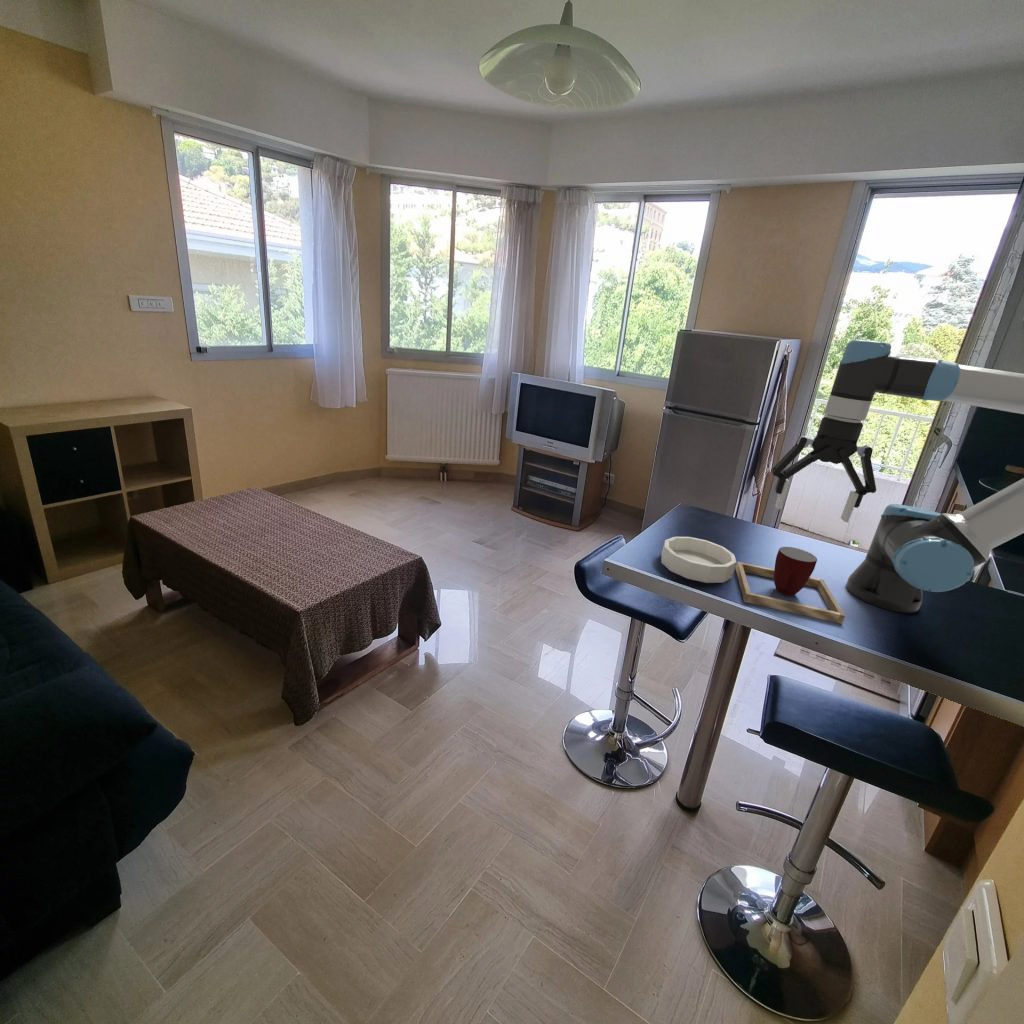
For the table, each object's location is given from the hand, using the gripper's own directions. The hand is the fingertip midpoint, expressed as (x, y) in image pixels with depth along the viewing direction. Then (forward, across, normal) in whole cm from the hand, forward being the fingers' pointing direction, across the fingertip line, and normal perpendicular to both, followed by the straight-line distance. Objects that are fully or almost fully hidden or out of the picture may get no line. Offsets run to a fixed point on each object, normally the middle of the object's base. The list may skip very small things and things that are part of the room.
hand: (810, 513), depth 115 cm
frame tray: (+20, 0, 0) cm, 20 cm away
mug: (+20, 0, 0) cm, 20 cm away
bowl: (+20, +20, -5) cm, 29 cm away
